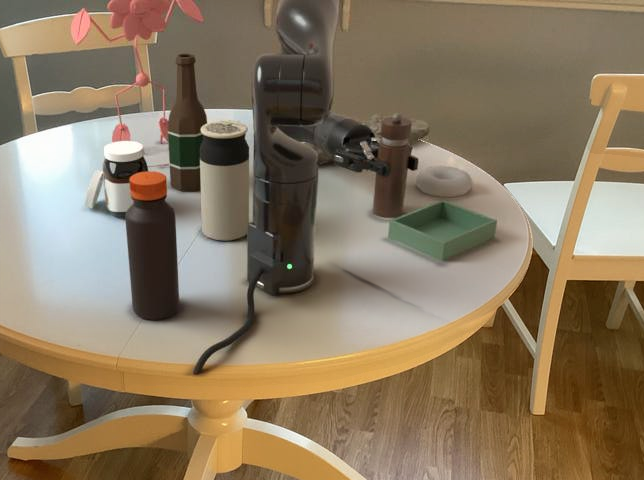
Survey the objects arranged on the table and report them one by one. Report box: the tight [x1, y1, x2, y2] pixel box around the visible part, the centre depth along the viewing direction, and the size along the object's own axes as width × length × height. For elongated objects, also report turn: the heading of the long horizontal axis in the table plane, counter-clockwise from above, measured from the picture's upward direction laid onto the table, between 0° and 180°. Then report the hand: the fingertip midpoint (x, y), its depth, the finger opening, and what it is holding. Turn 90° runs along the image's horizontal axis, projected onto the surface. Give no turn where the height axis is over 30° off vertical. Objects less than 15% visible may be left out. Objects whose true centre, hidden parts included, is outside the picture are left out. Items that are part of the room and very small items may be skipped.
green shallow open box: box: [387, 199, 498, 262], centre depth 138 cm, size 13×11×4 cm
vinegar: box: [124, 170, 180, 321], centre depth 117 cm, size 7×7×20 cm
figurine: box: [70, 0, 204, 168], centre depth 165 cm, size 15×26×35 cm, turn 111°
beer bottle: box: [167, 53, 208, 192], centre depth 155 cm, size 8×8×24 cm
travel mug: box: [200, 120, 250, 242], centre depth 139 cm, size 8×8×18 cm
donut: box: [415, 165, 473, 198], centre depth 156 cm, size 10×4×10 cm
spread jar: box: [84, 140, 149, 219], centre depth 149 cm, size 12×11×12 cm
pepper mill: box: [372, 112, 412, 219], centre depth 143 cm, size 5×5×18 cm
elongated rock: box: [303, 112, 431, 165], centre depth 174 cm, size 35×5×10 cm
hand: (402, 168), depth 141 cm, fingers closed on pepper mill, 5 cm apart
